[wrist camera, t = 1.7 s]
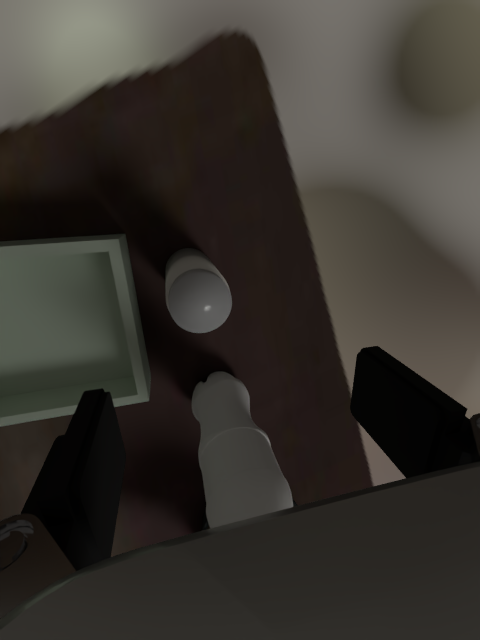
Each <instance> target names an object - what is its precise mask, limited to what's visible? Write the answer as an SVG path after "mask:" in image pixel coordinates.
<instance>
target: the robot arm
mask: <svg viewBox="0 0 480 640" xmlns="http://www.w3.org/2000/svg"><path fill="white" fill-rule="evenodd" d="M350 409H351V413H352V415H353V416H354V418H355V419H356V420H357V421H358V422H359V423H360V425H361V426H362V427H363V428H364V429H365V430H366V432H367V433H368V434H369V435H370V436H371V437H372V439H373V440H374V441H375V442H376V443H377V444H378V445H379V447H380V448H381V449H382V450H383V451H384V453H385V454H386V455H387V456H388V457H389V458H390V460H391V461H392V462H393V463H394V464H395V465H396V467H397V468H398V469H399V470H400V471H401V472H402V474H403V475H404V476H405V477H406V479H402V480H398V481H394V482H390V483H386V484H382V485H378V486H374V487H370V488H366V489H362V490H358V491H354V492H350V493H346V494H342V495H338V496H334V497H330V498H326V499H322V500H318V501H315V502H311V503H307V504H303V505H299V506H295V507H291V508H287V509H283V510H279V511H276V512H272V513H268V514H264V515H260V516H256V517H253V518H249V519H245V520H241V521H237V522H233V523H230V524H226V525H222V526H218V527H214V528H211V529H207V530H203V531H199V532H195V533H192V534H188V535H184V536H181V537H177V538H174V539H170V540H167V541H163V542H159V543H156V544H152V545H149V546H145V547H142V548H138V549H135V550H132V551H129V552H125V553H122V554H119V555H116V556H113V557H111V551H112V544H113V538H114V532H115V525H116V519H117V513H118V506H119V500H120V493H121V487H122V481H123V474H124V468H125V461H126V454H125V448H124V444H123V440H122V436H121V432H120V428H119V424H118V420H117V416H116V412H115V408H114V404H113V400H112V396H111V393H110V392H105V391H104V389H103V388H101V389H94V390H88V391H84V392H83V394H82V396H81V399H80V401H79V403H78V406H77V408H76V410H75V413H74V415H73V417H72V420H71V422H70V424H69V427H68V429H67V431H66V433H65V435H61V436H58V437H57V438H56V439H55V441H54V443H53V445H52V447H51V449H50V452H49V454H48V456H47V458H46V460H45V462H44V464H43V467H42V469H41V471H40V473H39V475H38V477H37V480H36V482H35V484H34V486H33V488H32V490H31V492H30V495H29V497H28V499H27V501H26V503H25V505H24V508H23V510H22V512H21V514H18V515H14V516H11V517H9V518H6V519H4V520H2V521H0V640H480V413H479V414H475V415H473V416H472V417H471V418H470V419H468V418H467V417H466V416H465V414H466V411H467V408H465V407H464V406H462V405H461V404H459V403H458V402H457V401H455V400H454V399H452V398H451V397H450V396H448V395H447V394H445V393H444V392H442V391H441V390H440V389H438V388H437V387H435V386H434V385H432V384H431V383H430V382H428V381H427V380H425V379H424V378H422V377H421V376H420V375H418V374H416V373H415V372H414V371H412V370H411V369H410V368H408V367H407V366H405V365H404V364H402V363H401V362H400V361H398V360H397V359H395V358H394V357H392V356H391V355H390V354H388V353H387V352H385V351H384V350H382V349H381V348H380V347H378V346H373V347H368V348H363V349H361V351H360V352H359V353H358V354H357V359H356V367H355V375H354V382H353V390H352V398H351V405H350Z"/></svg>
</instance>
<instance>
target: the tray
mask: <svg viewBox="0 0 480 640" xmlns="http://www.w3.org/2000/svg"><path fill="white" fill-rule="evenodd" d="M150 383H151V374H150V368H149V362H148V357H147V351H146V346H145V340H144V335H143V329H142V323H141V318H140V312H139V307H138V301H137V295H136V290H135V284H134V279H133V273H132V267H131V262H130V256H129V251H128V245H127V240H126V234H111V235H95V236H79V237H63V238H47V239H31V240H15V241H0V426H6V425H12V424H18V423H24V422H29V421H35V420H41V419H47V418H53V417H59V416H64V415H70V414H74V413H75V410H76V408H77V406H78V403H79V401H80V399H81V396H82V394H83V392H84V391H88V390H94V389H101V388H103V389H104V391H105V392H110V393H111V396H112V400H113V404H114V407H117V406H123V405H128V404H134V403H140V402H146V401H149V396H150Z"/></svg>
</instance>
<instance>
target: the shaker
mask: <svg viewBox="0 0 480 640" xmlns="http://www.w3.org/2000/svg"><path fill="white" fill-rule="evenodd" d="M165 282H166V304H167V307H168V310H169V312H170V314H171V316H172V318H173V320H174V321H175V322H176V323H177V324H178V325H179V326H180V327H181V328H183V329H185V330H187V331H190V332H194V333H205V332H209V331H212V330H214V329H216V328H218V327H219V326H220V325H222V324H223V323H224V322H225V320H226V319H227V317H228V316H229V313H230V311H231V306H232V298H231V294H230V290H229V286H228V284H227V282H226V280H225V279H224V278H223V276H222V275H221V274H220V272H219V271H218V270H217V269H216V267H215V266H214V265H213V264H212V262H211V261H210V260H209V258H208V257H207V256H206V255H205V254H204V253H203V252H201V251H199V250H197V249H193V248H184V249H181V250H178V251H176V252H175V253H174V254H172V255H171V257H170V258H169V259H168V261H167V264H166V269H165Z"/></svg>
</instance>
